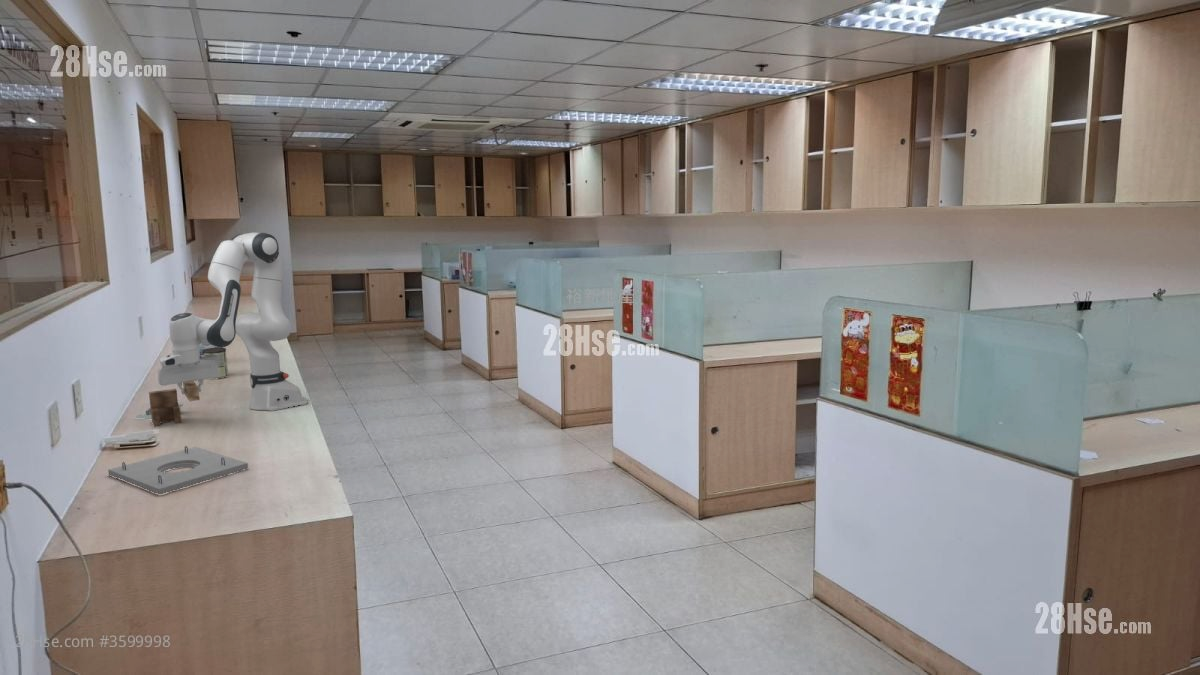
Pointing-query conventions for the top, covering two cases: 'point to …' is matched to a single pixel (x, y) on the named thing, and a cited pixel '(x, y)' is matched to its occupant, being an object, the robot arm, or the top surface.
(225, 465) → the mounting panel
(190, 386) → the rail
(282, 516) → the top surface
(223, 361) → the coffee can
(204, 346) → the light bulb box
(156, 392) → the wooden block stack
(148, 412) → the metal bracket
